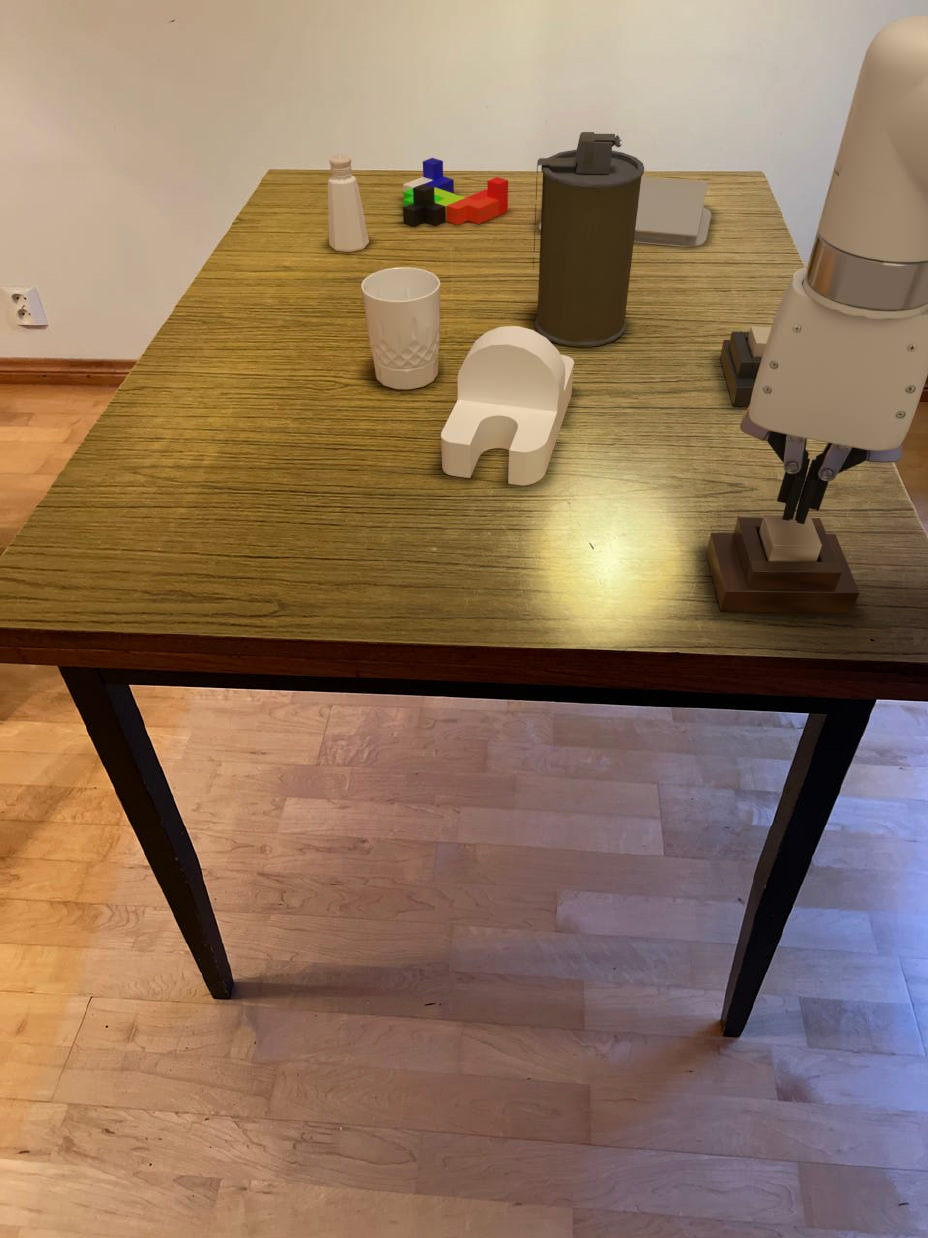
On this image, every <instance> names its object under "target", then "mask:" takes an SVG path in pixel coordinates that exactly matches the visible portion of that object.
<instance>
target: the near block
mask: <svg viewBox="0 0 928 1238" xmlns="http://www.w3.org/2000/svg"><path fill="white" fill-rule="evenodd" d="M811 519H812V521H813V524H814V527H815V529H816V532H817V534H818V537H819V539H820V542H821V544H822V547H821V550H820V553H819V556H818V559H817V562H792V561H768V560H767V557H766V554H765V551H764V547H763V544H762V541H761V538H760V535H759V531H760V527H761V523H762V520H763V516H761V517H760V516H758V517H756V516H755V517H754V516H753V517H750V516H743V517H742V516H738V517H737V519H736V521H735V526H734V530H733V532H710V535H709V539H708V544H707V548H706V557H707V561H708V566H709V570H710V573H711V578H712V582H713V586H714V591H715V595H716V599H717V602H718V607H719V611H720V612H726V613H727V612H733V613H734V612H735V613H737V612H739V613H741V612H742V613H743V612H744V613H799V614H800V613H801V614H802V613H805V614H806V613H808V614H811V613H812V614H852V613H853V610H854V607H855V605H856V603H857V600H858V599H859V596H860V589H859V588H858V586H857V583H856V581H855V578H854V576H853V573H852V571H851V569H850V566H849V564H848V561H847V559H846V556H845V554H844V552H843V549H842V547H841V544H840V542H839V539H838V537H837V535H836V533H827V532H826V529H825V527H824V523H823V521H822V519H821V517H811Z"/></svg>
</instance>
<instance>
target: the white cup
mask: <svg viewBox="0 0 928 1238" xmlns="http://www.w3.org/2000/svg"><path fill="white" fill-rule="evenodd" d="M360 284H361V285H360V289H361V296H362V303H363V309H364V316H365V323H366V329H367V334H368V342H369V346H370V353H371V355H372V359H373V364H374V365H373V366H374V371H375V378H376V379H375V380H377V381H378V382H379V383H380V384H381V385H383V386H384V387H388V388H390V389H394V390H414V389H419V388H424V387H426V386H427V385H429V384H431V383H433V382H434V381H435V379H436V378H437V377H438V375H439V349H440V336H441V335H440V334H441V280H440V278H439V276H437V275H436V274H434V273H433V272H431V271H429V270H426V269H423V268H418V267H409V266H401V267H398V266H397V267H390V268H385V269H384V268H383V269H381V270H378V271H375V272H373V273H370V274H369V275H367V276H366V277H365V278H364V279H363V280H362V282H361V283H360Z"/></svg>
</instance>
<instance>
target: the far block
mask: <svg viewBox="0 0 928 1238" xmlns="http://www.w3.org/2000/svg"><path fill="white" fill-rule="evenodd" d="M749 332H750V331H731V334H730V338H729V339H723V341H722V345H721V346H722V347H721V351H720V356H719V359H720V363H721V366H722V370H723V374H724V377H725V381H726V385H727V388H728V393H729V396H730V400H731V404H732V406H733V407H737V408H739V407H740V408H748V407H749V405H750V402H751V397H752V393H753V388H754V384H755V381H756V377H757V373H758V370H759V366H760V363H761V359H762V357H752V355H751V352H750V349H749V345H748V342H747V341H748V337H749Z"/></svg>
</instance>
